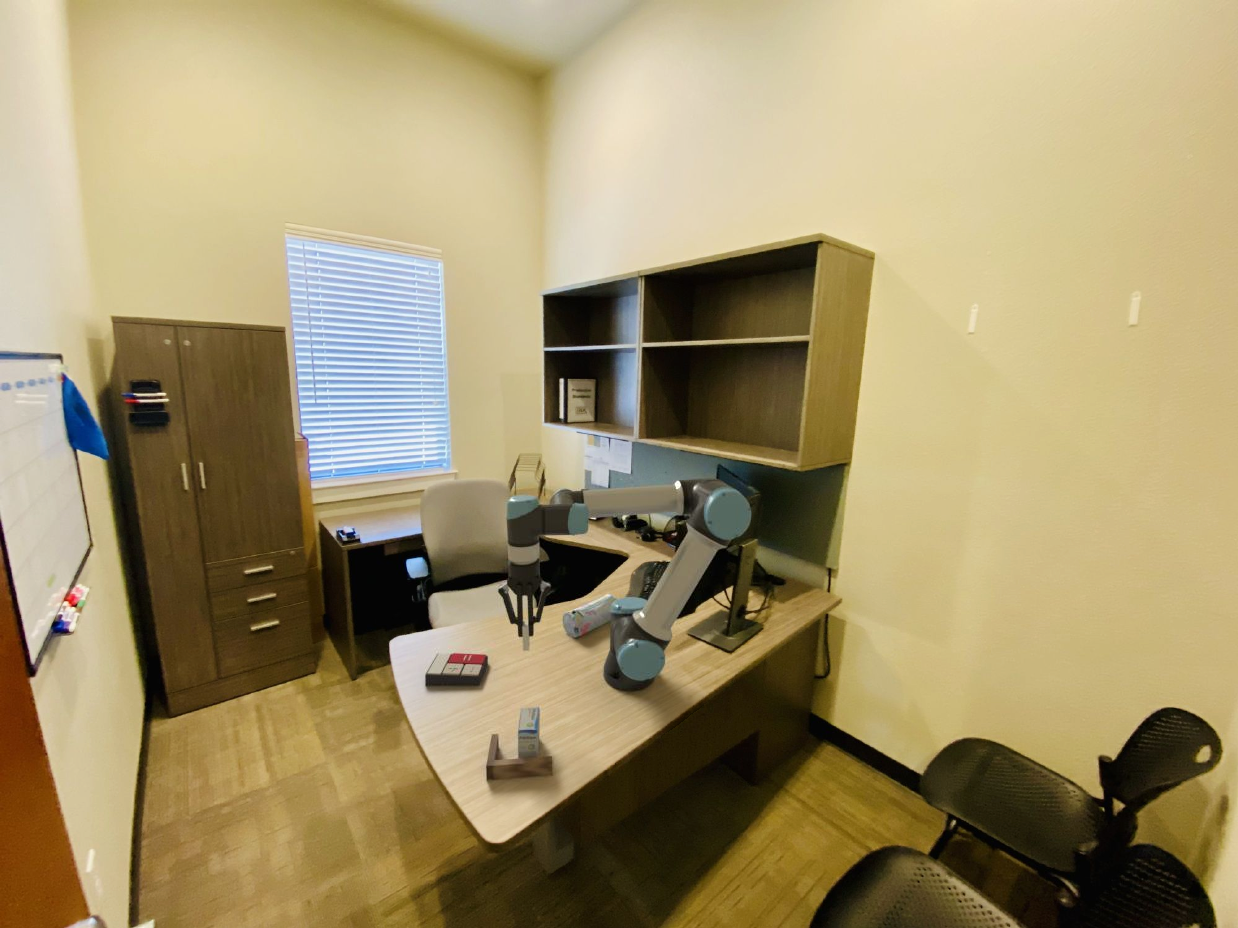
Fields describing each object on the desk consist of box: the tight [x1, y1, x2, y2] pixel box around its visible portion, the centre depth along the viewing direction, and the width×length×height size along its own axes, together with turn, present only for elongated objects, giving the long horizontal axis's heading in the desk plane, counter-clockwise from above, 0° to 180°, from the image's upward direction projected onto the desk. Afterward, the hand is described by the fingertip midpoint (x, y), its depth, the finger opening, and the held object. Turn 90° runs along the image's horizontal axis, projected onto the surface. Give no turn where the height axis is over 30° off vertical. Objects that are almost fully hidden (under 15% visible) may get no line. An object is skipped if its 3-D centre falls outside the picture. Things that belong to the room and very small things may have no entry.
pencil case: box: [562, 593, 618, 638], centre depth 170 cm, size 21×9×10 cm, turn 135°
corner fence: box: [485, 733, 553, 781], centre depth 111 cm, size 14×10×4 cm
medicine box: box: [517, 706, 541, 759], centre depth 113 cm, size 8×4×9 cm, turn 6°
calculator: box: [424, 652, 489, 687], centre depth 142 cm, size 11×4×15 cm
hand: (526, 647), depth 124 cm, fingers closed
